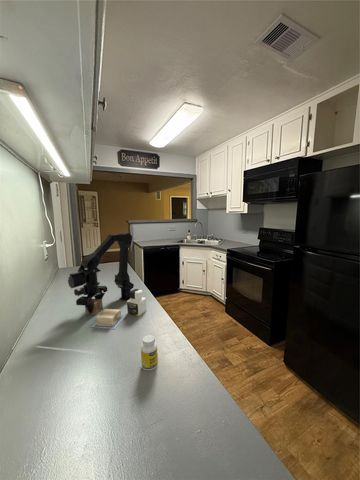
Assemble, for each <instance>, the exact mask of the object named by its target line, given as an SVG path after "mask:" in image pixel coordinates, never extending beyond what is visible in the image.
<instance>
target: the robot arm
mask: <svg viewBox="0 0 360 480" xmlns="http://www.w3.org/2000/svg"><path fill="white" fill-rule="evenodd" d="M115 242H117V244H118V247H119V260H118V261H119V263H118V273H117V274H114V283H115V285H116V286H117V288H118V289H120V295H121V296H120V297H119V298H118V299H119V300H121V301H122V300H123V301H124V300H125V301H128V300H130V292H131V291H132V290H133V289H134V286H135V284H134V283H132V281H131V279H130V275H129V273H128V272H129V271H128V266H129V249H130V246H131V245H132V242H133V236H132V234H131V233H130V232H129V233H128V232H120V233H118V234H114V233H113V234H112V233H110V234H108V235H107V237H106V238H104V240H103V241H102V242H101V244H99V246H98V247H97V248H96V249H95V250H94V251H93V252H92V253H90V254H89V253H88V255H86V256H85V257H84V258H83V259H82V261H81V265H80V266H79V268H78V269H77V272H73V273H70V274H69V277H68V278H67V279H68V280H67V282H68V286H69V287H70V289H73V292H74V293H73V294H74V296H75V297H76V296H77V297H78V298H77V299H76V300H75V303H76V304H75V305H76V306H83V307H85V306H86V308H87V310H88V311H89V313H90V314H89V315H92V314H91V313H92V311H93V305H94V301H92V299H102V300H103V299H104V296H105V295H106V292H108V286H106V285H100V284H101V283H100V281H99V280H98V273H100V272H101V269H99V268H98V267H99V265H100V263H101V260H102V258H103V256H105V254H106V253H107V252H108V251H109V249H110V248H111V247H112V246H113V245H114V244H115ZM80 286H81V287H80ZM79 287H80V288H79ZM74 288H75V289H74ZM82 295H83V296H82ZM80 296H81V297H80Z"/></svg>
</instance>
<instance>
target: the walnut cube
mask: <svg viewBox="0 0 360 480" xmlns="http://www.w3.org/2000/svg"><path fill="white" fill-rule="evenodd" d="M92 301H94V305H93V311H92V313H91V314H90V313H89V311H88V310H87V308H86V306H84V308H85V309H84V310H85V315H94V316H98V315H99V314H100V313H101V312H102V311H103V310H104V306H103V298H102V299H95V298H92Z"/></svg>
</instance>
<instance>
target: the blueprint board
mask: <svg viewBox="0 0 360 480" xmlns="http://www.w3.org/2000/svg"><path fill="white" fill-rule="evenodd" d="M126 317H127V315H125V314H123V315H122V314H121V318H120V319H119V320H118V321H117V323H116V324H115V325H114V326H113V327H111V326H98V325H97V322H96V321H95V322H94V324H92V325H91V326H90V328H92V329H103V330H116V329H117V328H118V326H120V324H121V323H122V322H123V320H125V318H126Z"/></svg>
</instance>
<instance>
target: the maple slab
mask: <svg viewBox="0 0 360 480" xmlns="http://www.w3.org/2000/svg"><path fill="white" fill-rule="evenodd" d="M121 313H122V311H121V309H115V308H113V309H112V308H104V309H103V310H101V311H100V312H99V313H98V314H97V315H96V317H95V323H96V322H97V325H98V326H111V327H113V326H114V325H115V324H116V323H117V321H118V320H119V319H120V318H121V315H122V314H121Z"/></svg>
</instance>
